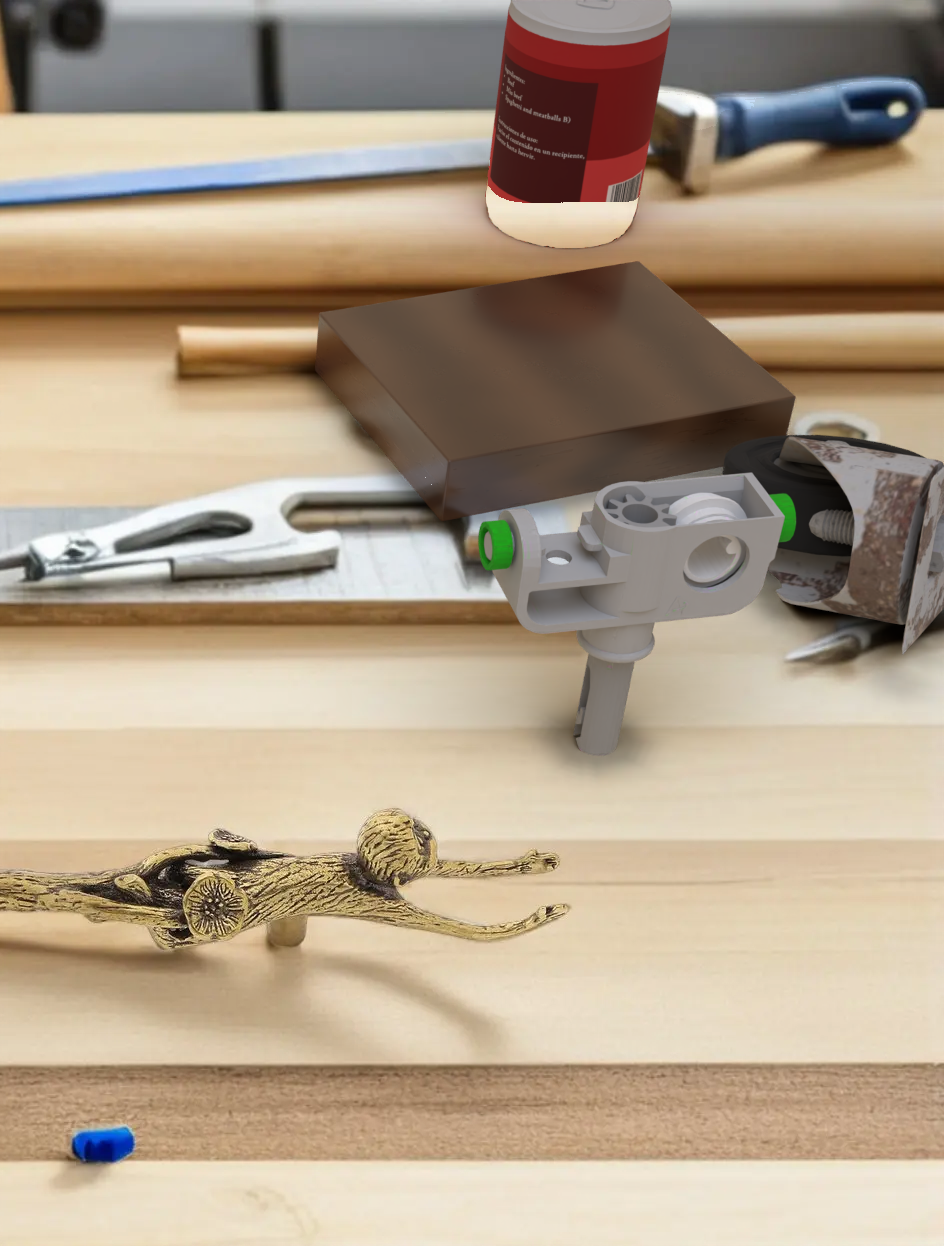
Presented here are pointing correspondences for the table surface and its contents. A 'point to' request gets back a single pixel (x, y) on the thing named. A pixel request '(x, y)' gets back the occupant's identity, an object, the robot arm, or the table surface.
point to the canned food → (577, 99)
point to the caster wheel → (855, 526)
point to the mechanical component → (636, 574)
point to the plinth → (545, 387)
